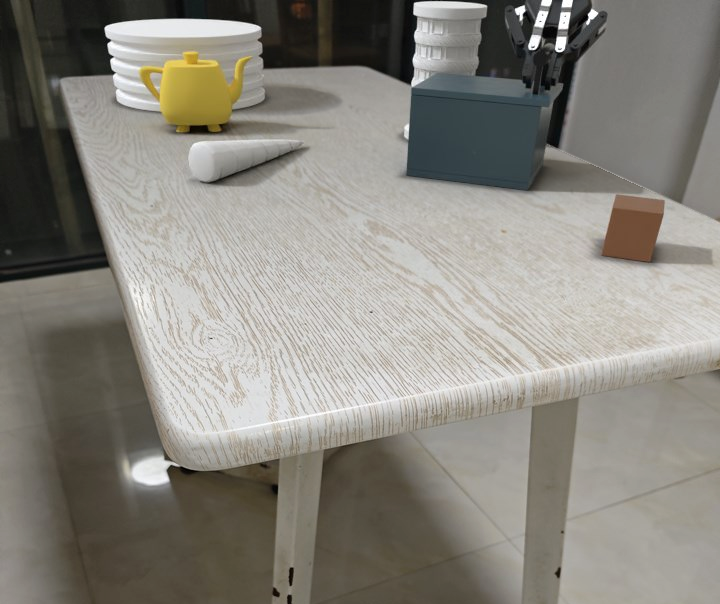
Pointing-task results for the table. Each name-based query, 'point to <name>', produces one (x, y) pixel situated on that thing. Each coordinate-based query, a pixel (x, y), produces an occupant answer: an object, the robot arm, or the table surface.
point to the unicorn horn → (234, 156)
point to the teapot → (195, 91)
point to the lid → (494, 85)
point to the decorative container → (446, 39)
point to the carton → (633, 227)
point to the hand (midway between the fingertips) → (538, 84)
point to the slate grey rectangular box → (476, 141)
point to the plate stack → (169, 41)
